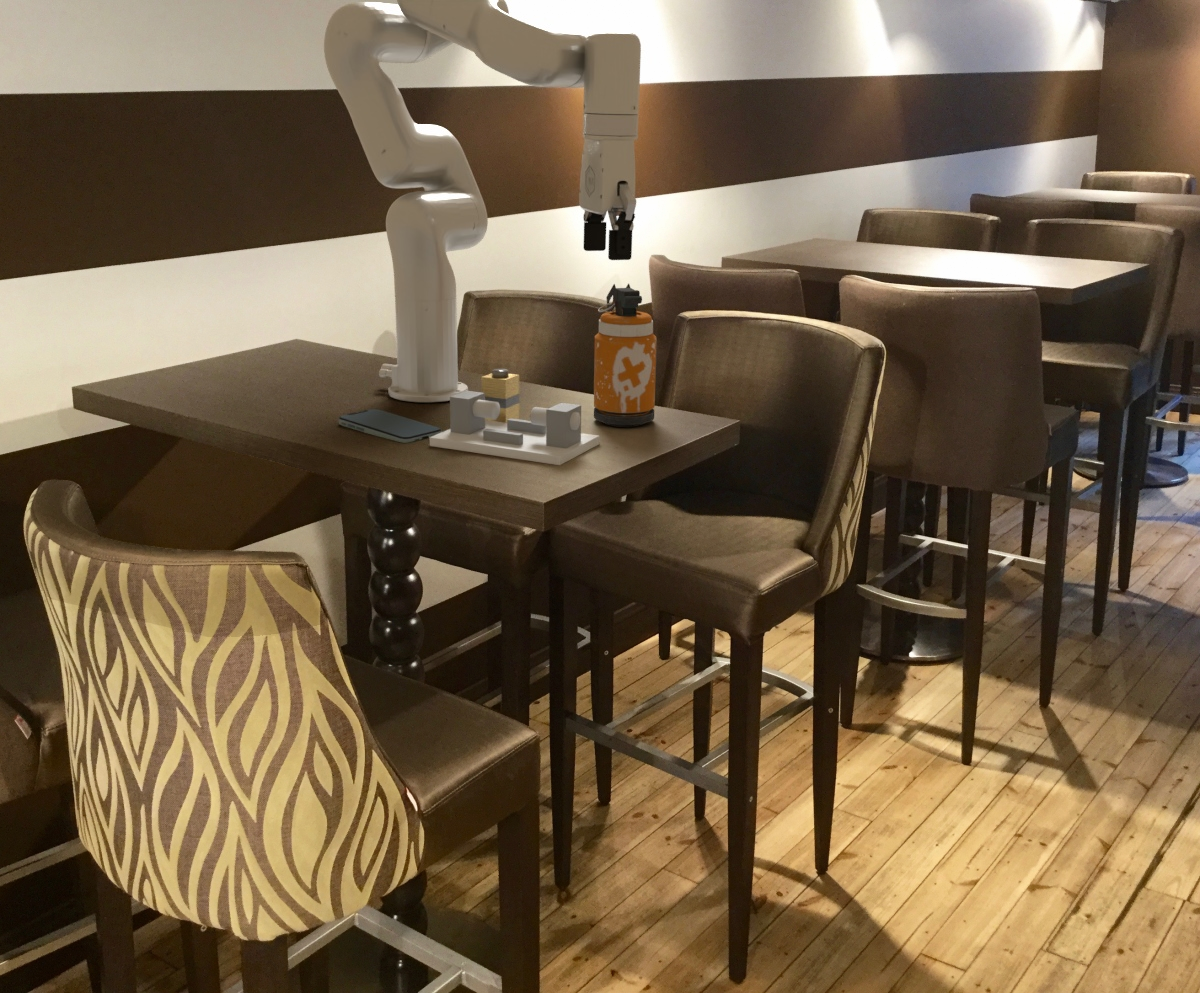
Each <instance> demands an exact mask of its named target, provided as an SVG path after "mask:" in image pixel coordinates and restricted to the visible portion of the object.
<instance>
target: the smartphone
mask: <svg viewBox="0 0 1200 993" xmlns="http://www.w3.org/2000/svg"><path fill="white" fill-rule="evenodd" d="M338 425H340V426H342V427H344V428H348V429H352V430H354V431H359V432H361V433H365V434H368V435H372V436H375V437H380V438H384V439H387V440H389V441H390V440H391V441H395V442H398V443H403V444H406V443H412V442H416V441H421V440H425V439H428V438H429V437H431V436H434V435H436V434H439V433H441V432H443V431H442V429H441V428H440V427H438V426H434V425H431V424H428V423H426V422H421V421H420V420H419V421H418V420H416V419H412V418H408V417H405V416H402V415H398V414H395V413H392V412H388V411H385V410H382V409H379V408H371V409H365V410H361V411H356V412H351V413H347V414H343V415H341V416H339V417H338Z"/></svg>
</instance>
